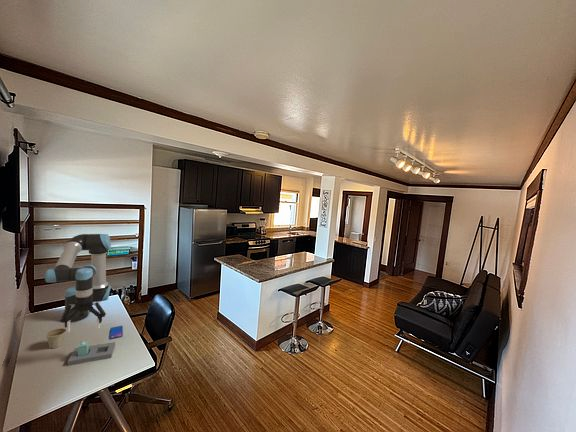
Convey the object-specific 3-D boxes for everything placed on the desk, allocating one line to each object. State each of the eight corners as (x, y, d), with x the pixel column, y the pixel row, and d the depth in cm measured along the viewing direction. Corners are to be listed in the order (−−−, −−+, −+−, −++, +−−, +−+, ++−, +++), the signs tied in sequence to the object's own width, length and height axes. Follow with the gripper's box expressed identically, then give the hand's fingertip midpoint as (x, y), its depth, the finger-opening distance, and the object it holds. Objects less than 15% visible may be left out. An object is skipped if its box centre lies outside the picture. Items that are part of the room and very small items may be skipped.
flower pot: (60, 339, 156) (60, 326, 155) (70, 343, 153) (70, 330, 153) (41, 347, 147) (41, 334, 147) (51, 352, 145) (51, 338, 144)
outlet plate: (75, 352, 146) (75, 348, 146) (115, 345, 155) (115, 341, 155) (67, 365, 135) (67, 361, 135) (111, 357, 144) (111, 353, 144)
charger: (80, 355, 144) (80, 341, 143) (88, 353, 145) (88, 340, 145) (77, 359, 140) (77, 345, 139) (86, 358, 142) (86, 344, 141)
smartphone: (122, 325, 176) (122, 336, 164) (122, 326, 177) (122, 337, 164) (110, 327, 172) (109, 338, 160) (110, 328, 172) (109, 340, 160)
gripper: (52, 300, 131) (52, 337, 133) (109, 295, 142) (108, 329, 144) (58, 294, 137) (58, 330, 140) (111, 290, 148) (111, 323, 151)
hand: (83, 330), depth 142 cm, fingers open, 13 cm apart
